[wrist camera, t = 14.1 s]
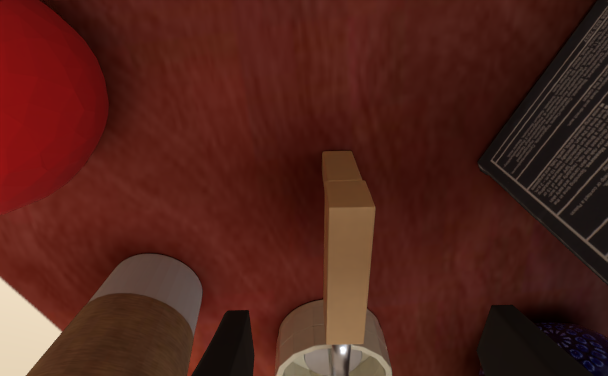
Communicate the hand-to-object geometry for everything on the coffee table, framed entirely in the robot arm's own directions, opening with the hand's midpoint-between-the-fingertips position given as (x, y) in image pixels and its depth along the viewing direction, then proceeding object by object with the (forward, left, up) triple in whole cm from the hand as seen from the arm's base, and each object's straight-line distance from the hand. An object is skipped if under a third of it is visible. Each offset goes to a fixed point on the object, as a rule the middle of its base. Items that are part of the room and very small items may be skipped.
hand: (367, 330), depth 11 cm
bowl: (-3, +13, -10) cm, 17 cm away
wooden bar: (-2, +7, -10) cm, 12 cm away
